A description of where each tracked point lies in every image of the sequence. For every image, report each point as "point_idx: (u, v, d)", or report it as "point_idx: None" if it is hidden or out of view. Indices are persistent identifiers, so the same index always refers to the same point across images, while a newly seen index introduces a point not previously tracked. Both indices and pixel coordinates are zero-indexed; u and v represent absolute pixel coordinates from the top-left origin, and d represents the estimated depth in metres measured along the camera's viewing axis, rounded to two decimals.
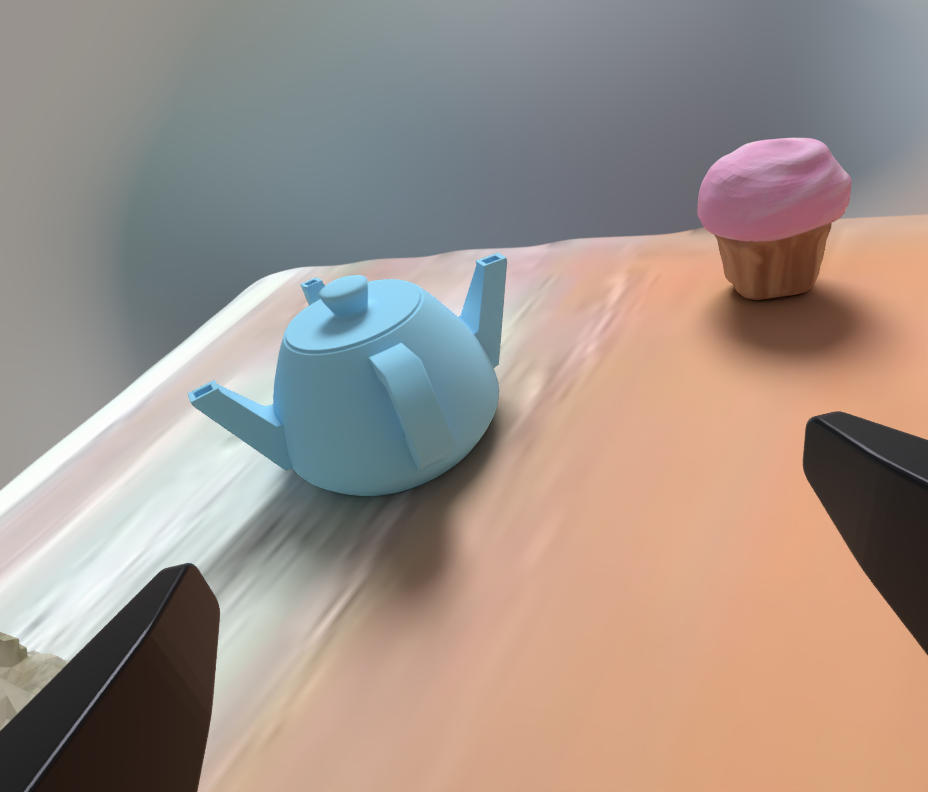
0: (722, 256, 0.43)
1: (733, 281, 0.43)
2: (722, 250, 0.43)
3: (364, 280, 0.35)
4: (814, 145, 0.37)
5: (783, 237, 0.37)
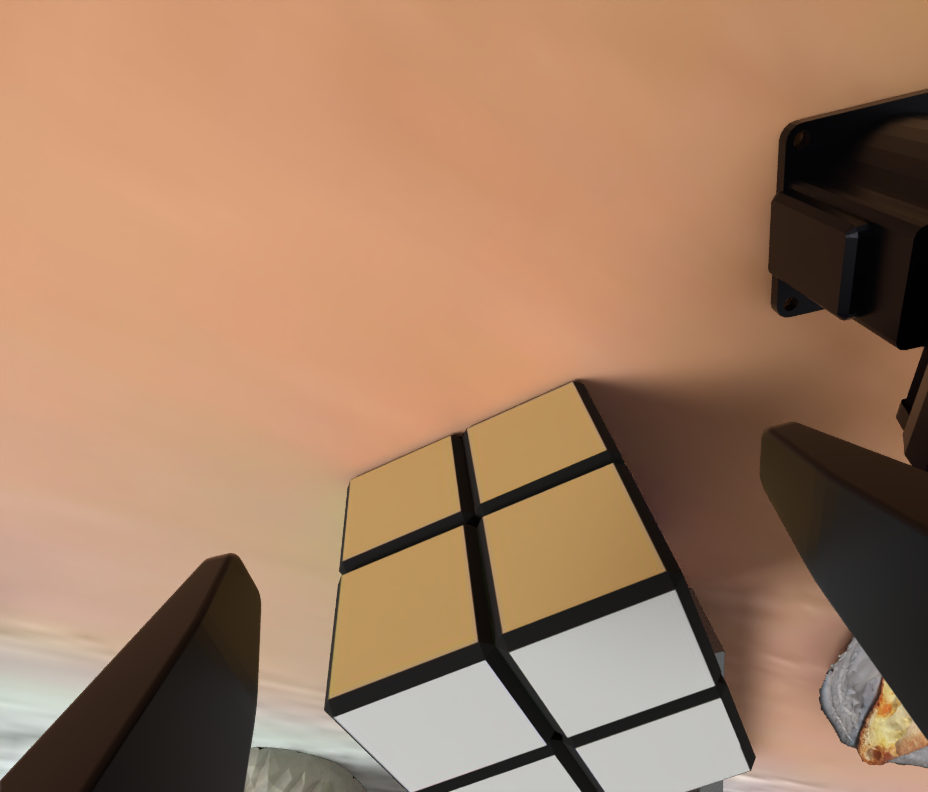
0: None
1: None
2: None
3: None
4: None
5: None
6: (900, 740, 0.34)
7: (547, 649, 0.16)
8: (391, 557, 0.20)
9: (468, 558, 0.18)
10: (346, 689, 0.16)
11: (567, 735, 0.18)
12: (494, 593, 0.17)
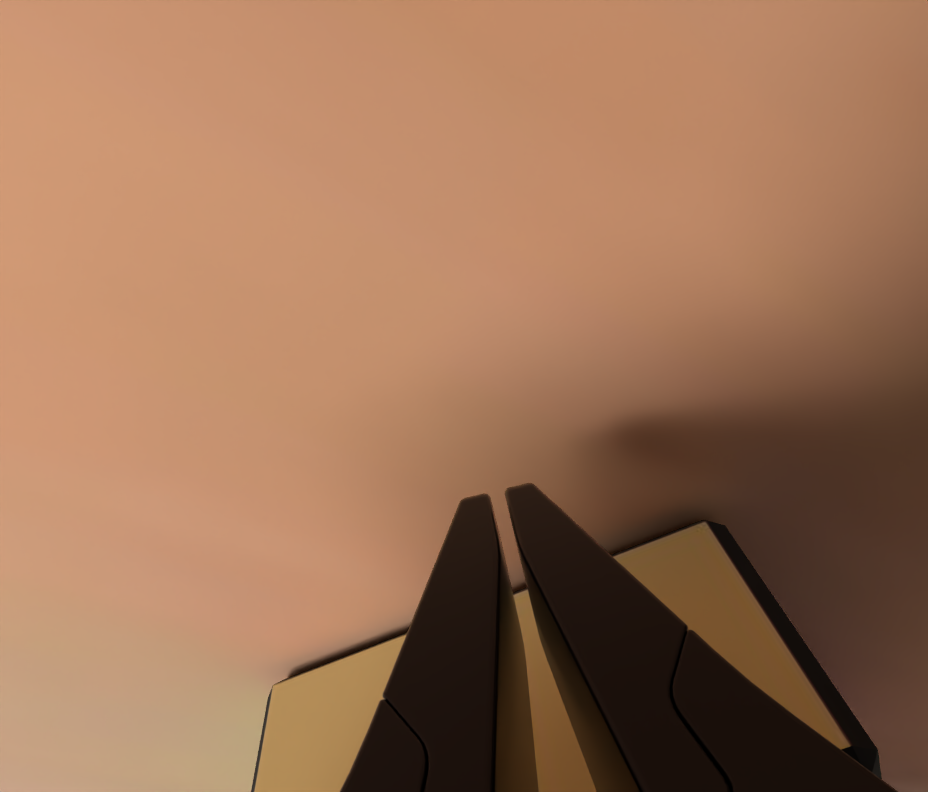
0: None
1: None
2: None
3: None
4: None
5: None
6: None
7: None
8: None
9: None
10: None
11: None
12: None
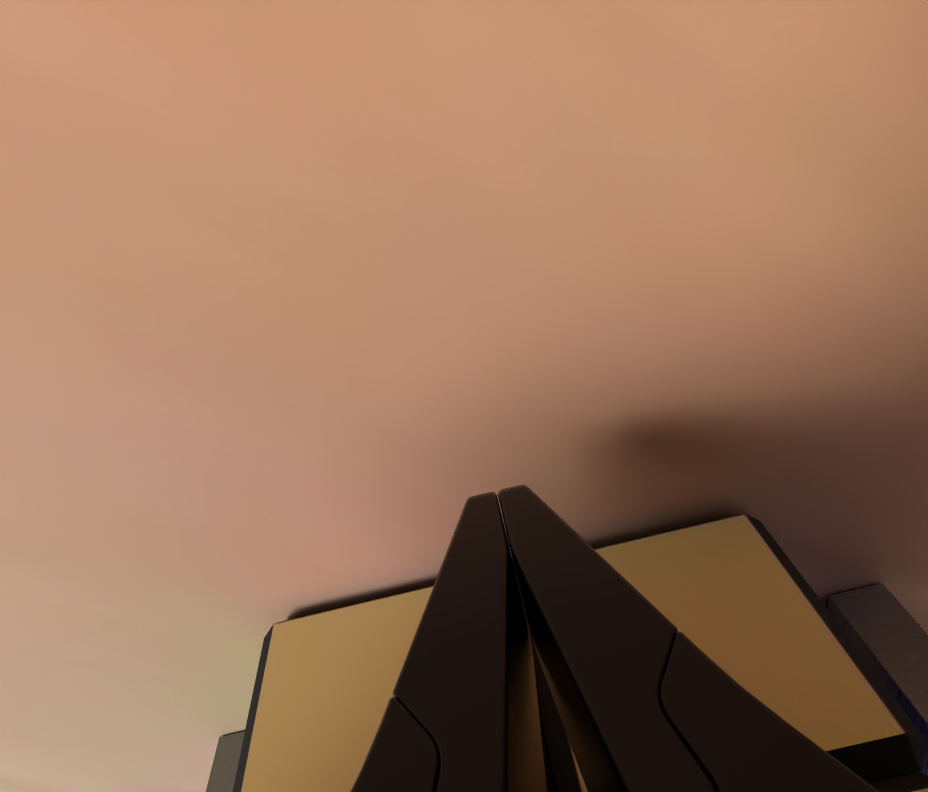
0: None
1: None
2: None
3: None
4: None
5: None
6: None
7: None
8: None
9: None
10: None
11: None
12: None
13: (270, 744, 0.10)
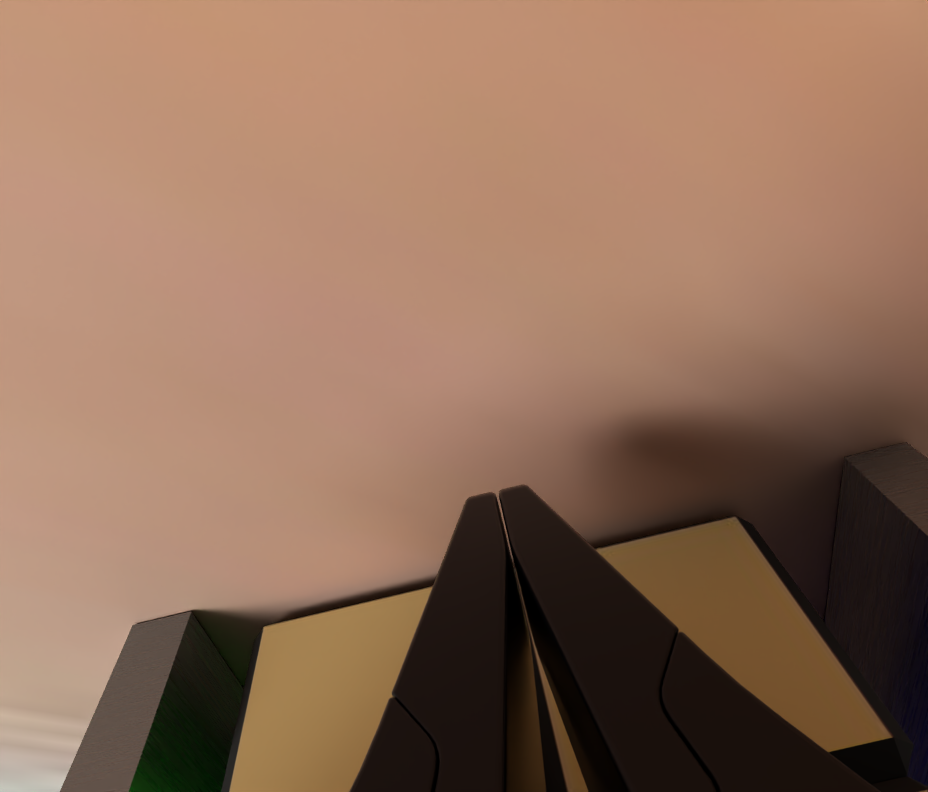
0: None
1: None
2: None
3: None
4: None
5: None
6: None
7: None
8: None
9: None
10: None
11: None
12: None
13: (258, 748, 0.10)
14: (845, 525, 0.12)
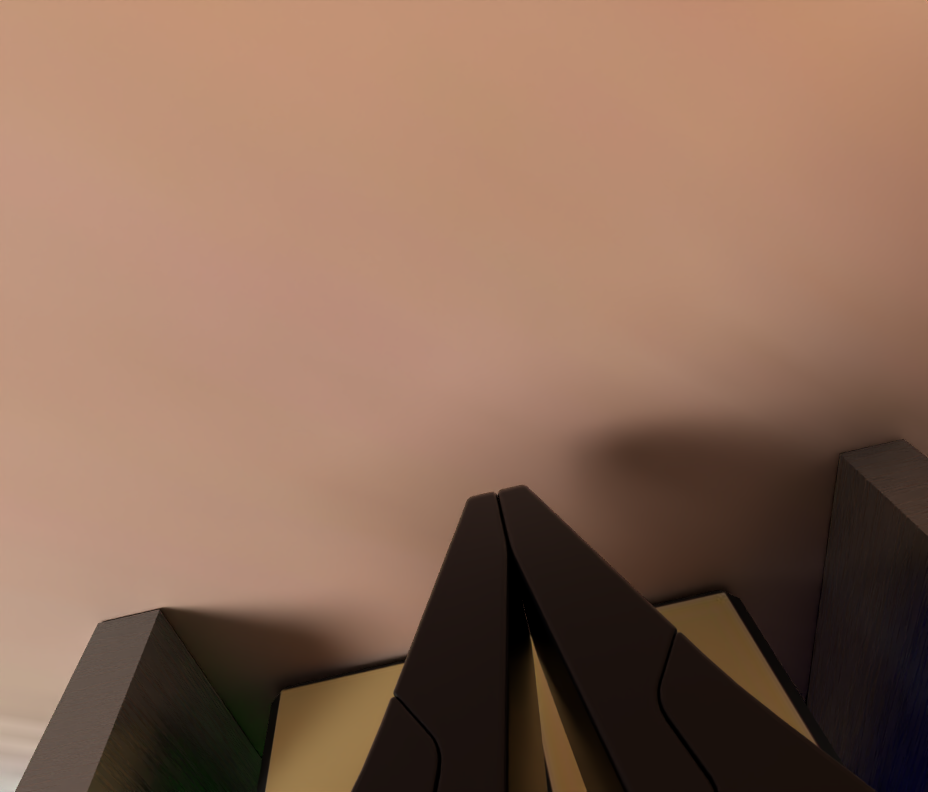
0: None
1: None
2: None
3: None
4: None
5: None
6: None
7: None
8: None
9: None
10: None
11: None
12: None
13: None
14: (839, 524, 0.12)
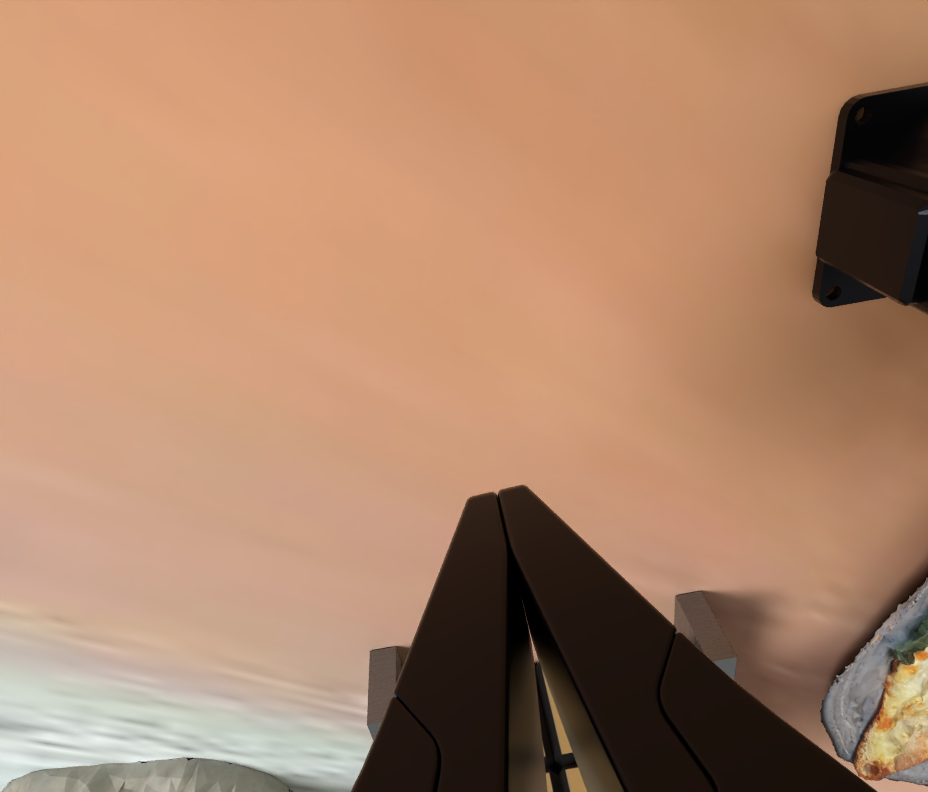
0: None
1: None
2: None
3: None
4: None
5: None
6: (898, 755, 0.33)
7: None
8: None
9: None
10: None
11: None
12: None
13: None
14: (676, 622, 0.29)
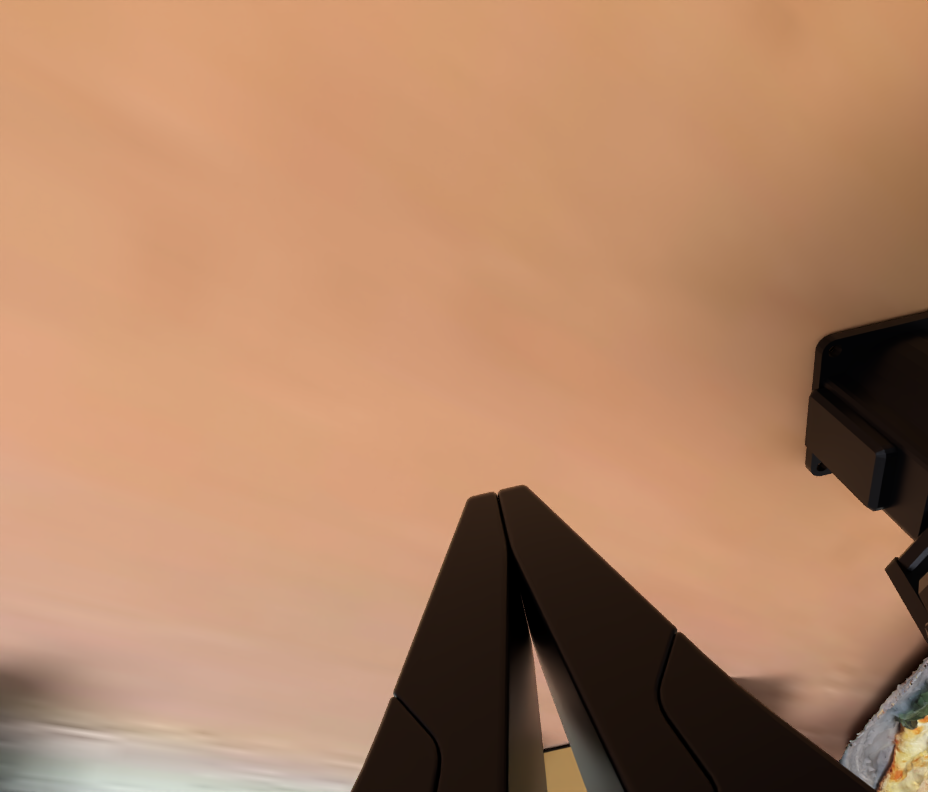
0: None
1: None
2: None
3: None
4: None
5: None
6: None
7: None
8: None
9: None
10: None
11: None
12: None
13: None
14: None
